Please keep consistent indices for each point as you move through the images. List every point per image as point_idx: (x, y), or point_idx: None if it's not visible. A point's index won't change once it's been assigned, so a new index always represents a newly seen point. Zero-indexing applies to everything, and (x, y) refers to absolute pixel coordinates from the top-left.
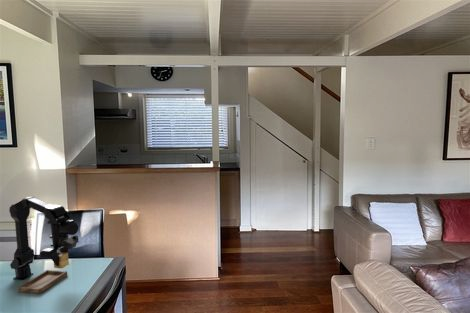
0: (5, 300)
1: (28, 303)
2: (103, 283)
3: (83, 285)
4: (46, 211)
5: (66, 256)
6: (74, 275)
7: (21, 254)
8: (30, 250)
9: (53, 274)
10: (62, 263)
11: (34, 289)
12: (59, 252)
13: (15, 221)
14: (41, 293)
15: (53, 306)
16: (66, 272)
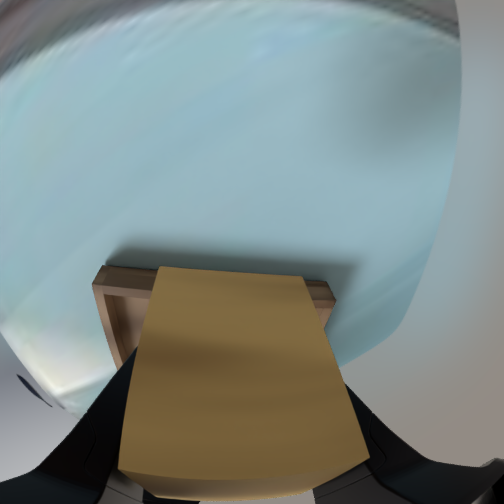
0: (341, 364)
1: (393, 279)
2: None
3: (218, 59)
4: None
5: (184, 405)
6: (84, 225)
7: (198, 501)
8: (155, 500)
9: (126, 337)
10: (310, 328)
11: (323, 325)
12: (167, 497)
13: None
14: (320, 281)
15: (445, 146)
16: (98, 281)
